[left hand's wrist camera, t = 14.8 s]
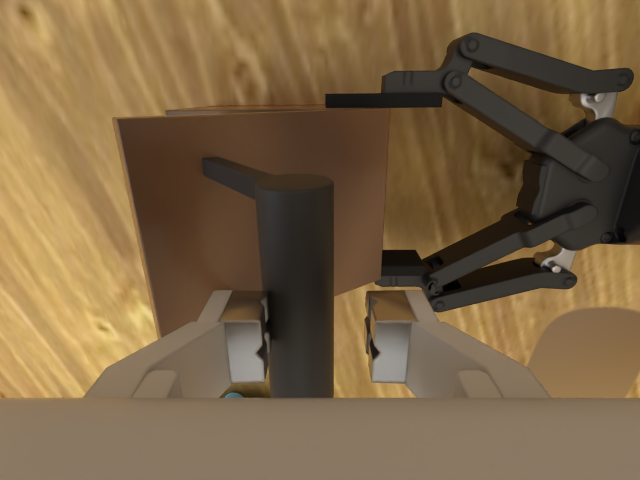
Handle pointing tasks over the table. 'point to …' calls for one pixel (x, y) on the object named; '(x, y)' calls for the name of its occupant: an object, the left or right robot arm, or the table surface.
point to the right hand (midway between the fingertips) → (325, 188)
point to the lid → (260, 221)
